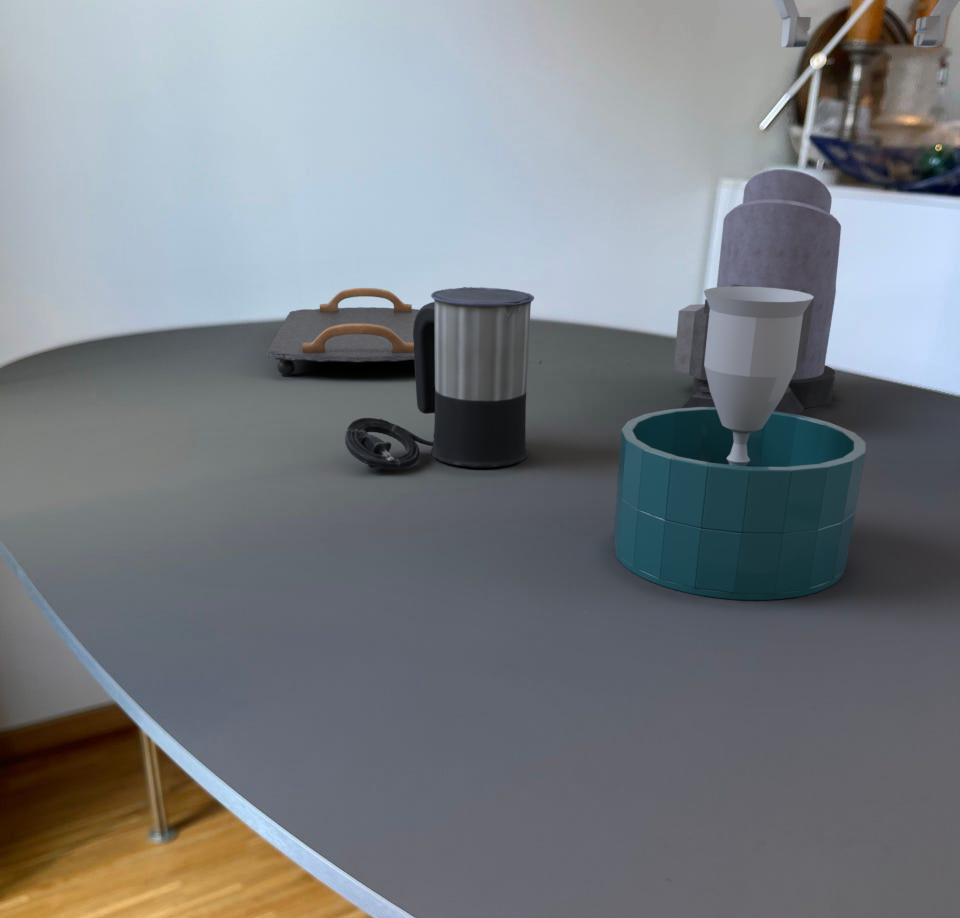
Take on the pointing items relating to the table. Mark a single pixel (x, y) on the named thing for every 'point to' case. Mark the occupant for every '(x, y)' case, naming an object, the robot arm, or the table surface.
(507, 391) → the milk frother
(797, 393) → the juicer
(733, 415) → the chalice
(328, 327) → the serving tray
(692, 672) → the table surface
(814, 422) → the pot
